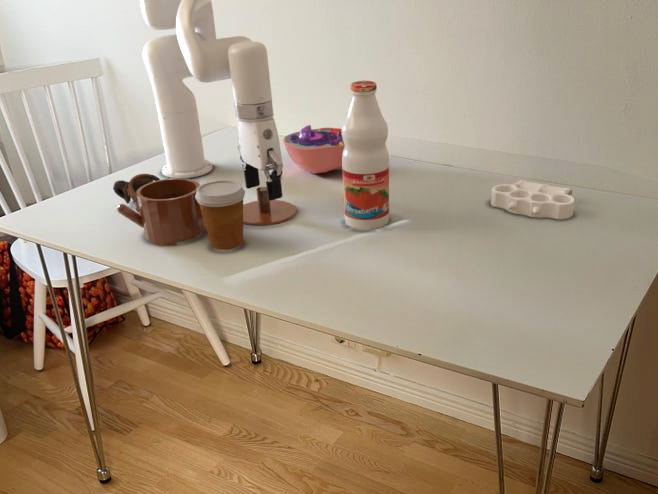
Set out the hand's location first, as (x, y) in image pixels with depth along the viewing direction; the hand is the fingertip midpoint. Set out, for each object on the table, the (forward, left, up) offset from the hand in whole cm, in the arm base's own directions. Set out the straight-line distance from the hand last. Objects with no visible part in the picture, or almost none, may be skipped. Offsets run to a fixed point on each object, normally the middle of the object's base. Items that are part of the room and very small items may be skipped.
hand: (263, 192), depth 150 cm
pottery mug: (-24, -19, -6) cm, 31 cm away
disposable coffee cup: (+8, -14, -6) cm, 17 cm away
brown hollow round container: (-5, -19, -5) cm, 20 cm away
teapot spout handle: (-5, -19, -3) cm, 20 cm away
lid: (-1, 0, -5) cm, 5 cm away
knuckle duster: (+32, +48, -6) cm, 58 cm away
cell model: (-17, +26, -6) cm, 31 cm away
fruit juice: (+16, +15, -6) cm, 23 cm away
